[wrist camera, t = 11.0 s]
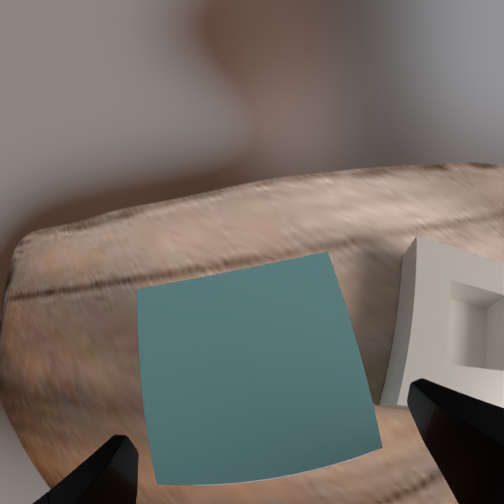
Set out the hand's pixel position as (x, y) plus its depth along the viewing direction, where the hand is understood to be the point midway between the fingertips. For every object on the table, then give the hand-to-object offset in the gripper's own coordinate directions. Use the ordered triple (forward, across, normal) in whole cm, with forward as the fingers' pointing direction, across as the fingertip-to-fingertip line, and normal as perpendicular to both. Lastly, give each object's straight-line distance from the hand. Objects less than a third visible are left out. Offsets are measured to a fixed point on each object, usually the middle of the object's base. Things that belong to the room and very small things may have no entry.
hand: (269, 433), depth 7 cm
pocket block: (+7, -14, +6) cm, 17 cm away
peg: (+7, 0, +5) cm, 9 cm away
